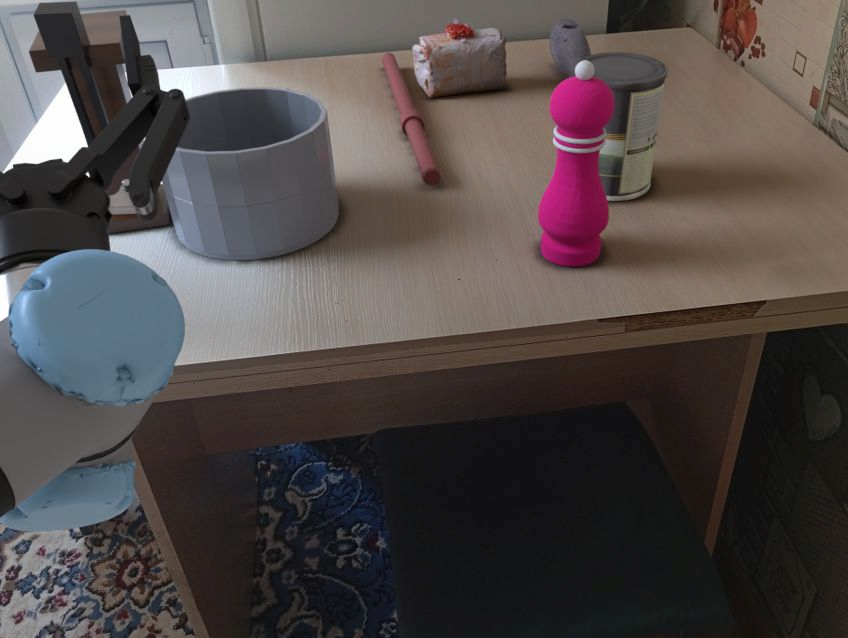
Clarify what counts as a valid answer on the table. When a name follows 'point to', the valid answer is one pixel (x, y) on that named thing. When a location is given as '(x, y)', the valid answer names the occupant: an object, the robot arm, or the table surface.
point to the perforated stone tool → (567, 45)
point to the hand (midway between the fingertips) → (33, 37)
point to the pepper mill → (576, 170)
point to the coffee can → (629, 121)
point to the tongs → (71, 40)
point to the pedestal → (105, 100)
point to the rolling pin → (411, 122)
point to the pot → (252, 174)
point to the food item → (460, 61)
